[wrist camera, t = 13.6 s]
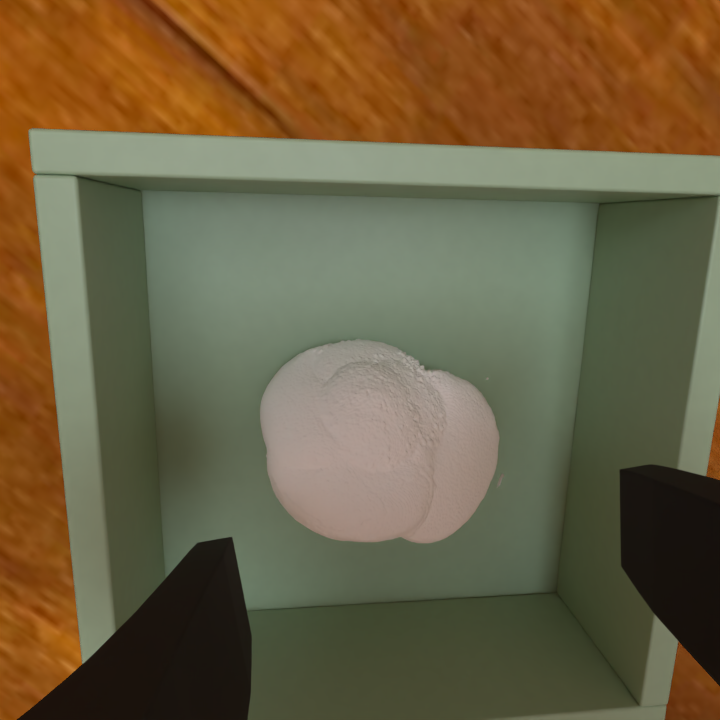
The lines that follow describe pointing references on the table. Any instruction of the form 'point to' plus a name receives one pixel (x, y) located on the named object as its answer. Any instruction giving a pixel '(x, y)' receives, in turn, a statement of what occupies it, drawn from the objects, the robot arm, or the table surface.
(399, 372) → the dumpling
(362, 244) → the bin
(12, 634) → the table surface
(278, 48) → the table surface
